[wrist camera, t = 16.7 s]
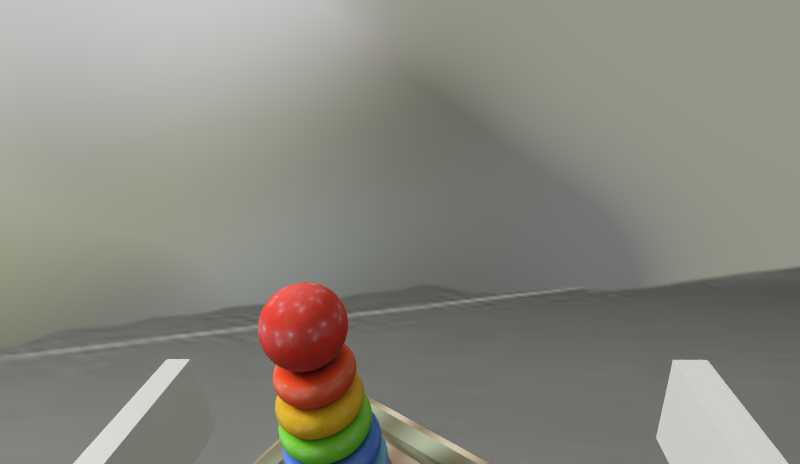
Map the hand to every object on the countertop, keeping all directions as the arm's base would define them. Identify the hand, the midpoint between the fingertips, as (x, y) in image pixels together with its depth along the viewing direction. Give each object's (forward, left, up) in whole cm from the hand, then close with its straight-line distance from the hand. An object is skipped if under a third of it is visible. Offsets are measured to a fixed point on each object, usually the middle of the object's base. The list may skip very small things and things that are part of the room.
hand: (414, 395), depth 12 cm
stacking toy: (+11, -5, -22) cm, 25 cm away
